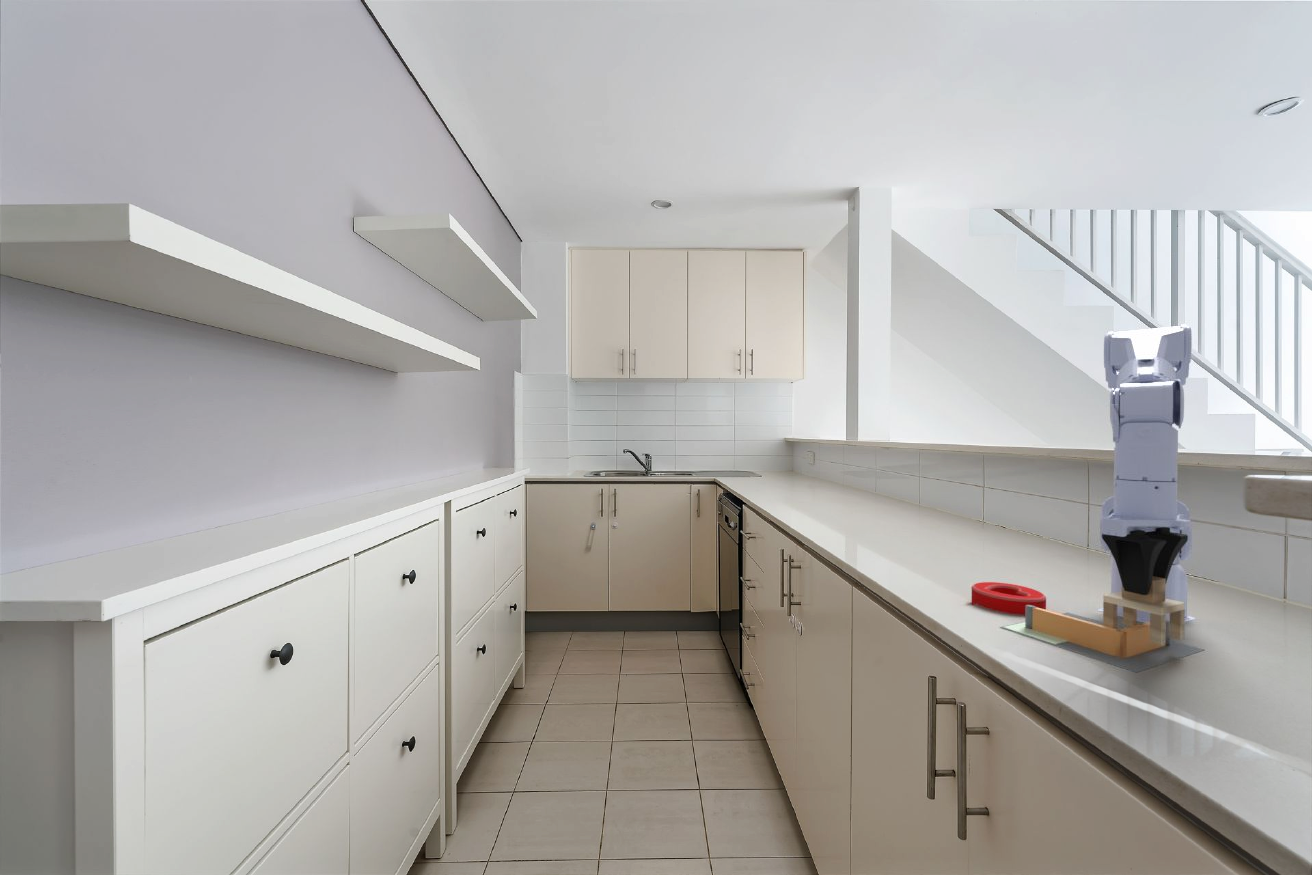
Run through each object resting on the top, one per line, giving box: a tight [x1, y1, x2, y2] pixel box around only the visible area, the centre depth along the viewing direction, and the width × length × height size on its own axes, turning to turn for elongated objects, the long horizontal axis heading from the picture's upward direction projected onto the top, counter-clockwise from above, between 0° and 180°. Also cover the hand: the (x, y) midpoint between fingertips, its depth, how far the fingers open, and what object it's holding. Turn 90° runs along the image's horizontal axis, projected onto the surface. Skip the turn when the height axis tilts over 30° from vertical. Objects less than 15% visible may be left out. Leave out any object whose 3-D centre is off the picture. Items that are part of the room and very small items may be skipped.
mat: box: [999, 611, 1205, 673], centre depth 68 cm, size 16×15×1 cm
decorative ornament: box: [971, 581, 1047, 616], centre depth 82 cm, size 10×10×3 cm
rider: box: [1102, 576, 1186, 646], centre depth 64 cm, size 6×6×7 cm
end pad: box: [1002, 621, 1068, 646], centre depth 70 cm, size 6×6×1 cm
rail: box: [1024, 605, 1171, 659], centre depth 69 cm, size 11×11×3 cm
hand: (1143, 591), depth 64 cm, fingers closed on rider, 3 cm apart
